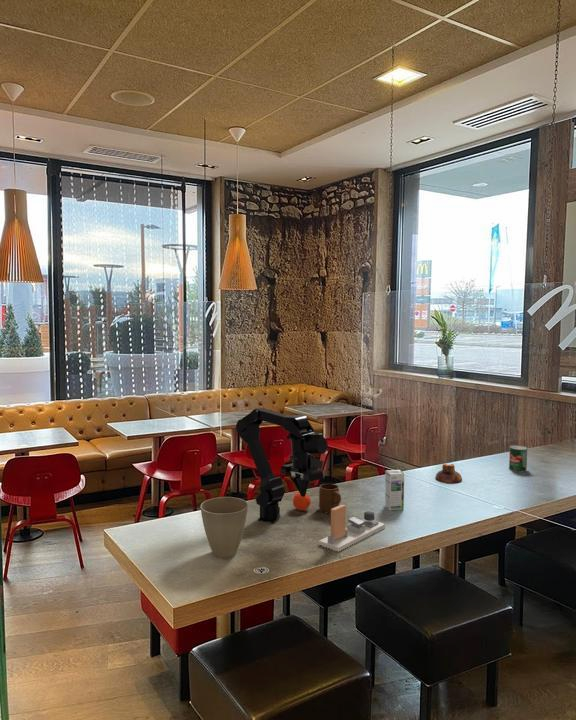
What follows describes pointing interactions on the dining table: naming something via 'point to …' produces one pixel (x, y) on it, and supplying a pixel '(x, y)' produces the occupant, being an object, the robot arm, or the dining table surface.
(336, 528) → the paddle
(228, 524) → the plant pot
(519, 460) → the canned tomato
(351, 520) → the rocker
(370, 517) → the push button
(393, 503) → the syrup box
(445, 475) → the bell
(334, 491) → the mug
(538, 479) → the dining table surface
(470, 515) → the dining table surface
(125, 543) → the dining table surface
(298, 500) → the clementine
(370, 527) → the switch console
